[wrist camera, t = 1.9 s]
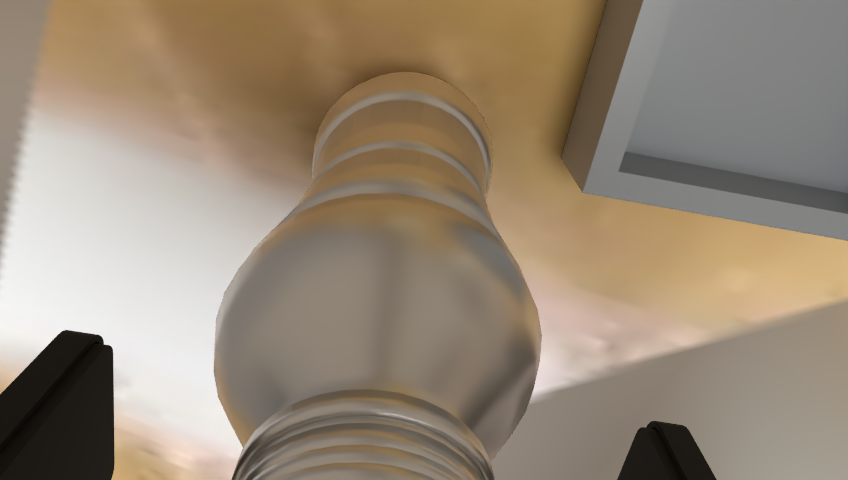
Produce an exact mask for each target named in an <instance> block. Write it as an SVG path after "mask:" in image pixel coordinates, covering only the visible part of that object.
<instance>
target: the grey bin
mask: <svg viewBox="0 0 848 480" xmlns="http://www.w3.org/2000/svg"><path fill="white" fill-rule="evenodd" d="M561 159H562V160H563V162H564V163H565V165H566V167H567V168H568V170H569V172H570V173H571V175H572V176H573V178H574V180H575V181H576V183H577V184H578V186H579V188H580V189H581V191H582V193H587V194H592V195H598V196H603V197H609V198H614V199H620V200H625V201H631V202H636V203H642V204H647V205H653V206H658V207H664V208H670V209H675V210H681V211H686V212H692V213H697V214H703V215H708V216H714V217H719V218H725V219H730V220H736V221H741V222H747V223H752V224H758V225H764V226H769V227H775V228H780V229H786V230H791V231H797V232H802V233H808V234H813V235H819V236H824V237H830V238H835V239H841V240H846V241H848V0H607V3H606V7H605V10H604V13H603V17H602V20H601V24H600V27H599V30H598V34H597V37H596V41H595V44H594V47H593V51H592V54H591V58H590V61H589V64H588V68H587V71H586V75H585V78H584V82H583V85H582V88H581V92H580V95H579V99H578V102H577V105H576V109H575V112H574V116H573V119H572V122H571V126H570V129H569V133H568V136H567V140H566V143H565V146H564V150H563V153H562V157H561Z"/></svg>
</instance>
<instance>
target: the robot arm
mask: <svg viewBox="0 0 848 480" xmlns="http://www.w3.org/2000/svg"><path fill="white" fill-rule="evenodd" d="M113 470H114V393H113V349H112V347H111V346H109V345H104V342H103V339H102V337H101V336H100V335H95V334H88V333H82V332H75V331H69V330H65V331H62V332H61V333H60V334H59V335H58V336H57V337H56V338H55V339H54V340H53V341H52V342H51V343H50V344H49V345H48V346H47V347H46V348H45V349H44V350H43V351H42V352H41V353H40V354H39V355H38V356H37V357H36V358H35V359H34V360H33V361H32V362H31V363H30V364H29V366H28V367H27V368H26V369H25V370H24V371H23V372H22V373H21V374H20V375H19V376H18V377H17V378H16V379H15V380H14V381H13V382H12V383H11V384H10V385H9V386H8V387H7V388H6V389H5V390H4V391H3V392H2V393H1V394H0V480H111V478H112V475H113ZM617 480H716V478H715V476H714V474H713V473H712V471H711V469H710V467H709V465H708V464H707V462H706V460H705V458H704V456H703V455H702V453H701V451H700V449H699V448H698V446H697V444H696V442H695V441H694V439H693V437H692V435H691V433H690V432H689V430H688V429H687V428H686V427H685V426H683V425H677V424H671V423H664V422H658V421H652V422H650V423H649V424H648V425H647V427H646V428H644V427H643V428H640V429H639V430H638V431H637V433H636V435H635V438H634V440H633V443H632V445H631V448H630V450H629V452H628V455H627V457H626V460H625V462H624V465H623V467H622V470H621V472H620V475H619V477H618V479H617Z"/></svg>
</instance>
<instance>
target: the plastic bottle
mask: <svg viewBox="0 0 848 480" xmlns="http://www.w3.org/2000/svg"><path fill="white" fill-rule="evenodd" d="M492 160H493V148H492V142H491V137H490V132H489V130H488V128H487V125H486V123H485V120H484V118H483V117H482V115H481V114H480V112H479V111H478V109H477V108H476V106H475V105H474V104H473V103H472V102H471V101H470V100H469V99H468V98H467V97H466V96H465V95H464V94H463V93H462V92H461V91H459V90H457V89H456V88H454V87H453V86H451V85H449V84H448V83H446V82H445V81H443V80H441V79H438V78H435V77H433V76H430V75H427V74H421V73H415V72H394V73H389V74H385V75H381V76H377V77H374V78H372V79H370V80H367V81H365V82H363V83H361V84H358V85H356V86H355V87H354V88H352V89H351V90H349V91H348V92H346V93H345V94H344V95H342V96H341V97H340V98H339V99H338V100H337V102H336V103H335V104H334V105H333V106H332V107H331V108H330V109H329V111H328V113H327V114H326V116H325V118H324V119H323V121H322V122H321V125H320V127H319V130H318V133H317V136H316V139H315V146H314V154H313V162H312V175H313V177H312V181H311V185H310V188H309V189H308V191H307V192H306V194H305V195H304V197H303V198H302V200H301V201H300V203H299V205H298V206H297V207H296V208H295V209H294V210H293V211H292V212H291V213H290V214H289V215H288V216H287V217H286V218H285V219H284V220H283V221H282V222H281V223H280V224H279V225H278V226H277V227H276V228H274V229H273V230H272V231H271V232H270V233H269V234H268V235H267V236H266V237H265V238H264V239H263V240H262V241H261V242H260V243H259V244H258V246H257V247H256V248H255V249H254V250H253V251H252V252H251V254H250V255H249V257H248V258H247V259H246V261H245V262H244V263H243V264H242V266H241V267H240V268H239V270H238V271H237V273H236V275H235V276H234V278H233V280H232V281H231V283H230V285H229V286H228V288H227V290H226V291H225V293H224V296H223V299H222V302H221V306H220V309H219V312H218V315H217V318H216V333H215V352H214V376H215V382H216V387H217V393H218V398H219V400H220V402H221V404H222V406H223V409H224V411H225V413H226V415H227V417H228V419H229V421H230V423H231V425H232V427H233V429H234V431H235V433H236V435H237V437H238V439H239V441H240V443H241V444H242V446H243V449H242V452H241V455H240V457H239V460H238V463H237V465H236V468H235V471H234V474H233V477H232V480H494V474H493V470H492V466H491V461H492V460H493V459H494V458H495V457H496V455H497V454H498V453H499V451H500V450H501V448H502V447H503V446H504V444H505V443H506V442H507V440H508V439H509V438H510V436H511V435H512V434H513V432H514V431H515V429H516V427H517V426H518V424H519V422H520V421H521V419H522V417H523V416H524V414H525V412H526V410H527V407H528V404H529V401H530V398H531V395H532V392H533V389H534V384H535V380H536V375H537V371H538V366H539V362H540V351H541V338H542V334H541V328H540V322H539V316H538V310H537V307H536V305H535V303H534V300H533V298H532V296H531V293H530V291H529V288H528V286H527V283H526V281H525V279H524V276H523V274H522V272H521V270H520V267H519V265H518V263H517V262H516V261H515V259H514V257H513V256H512V254H511V252H510V251H509V249H508V247H507V246H506V244H505V243H504V241H503V239H502V238H501V236H500V234H499V233H498V231H497V229H496V228H495V226H494V225H493V222H492V219H491V216H490V213H489V211H488V208H487V204H486V194H487V191H488V187H489V183H490V179H491V172H492Z"/></svg>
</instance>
